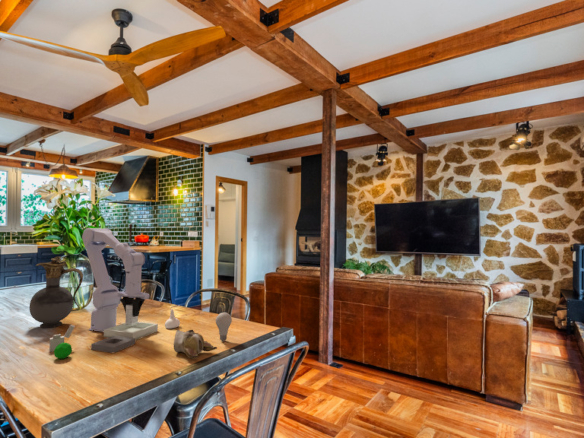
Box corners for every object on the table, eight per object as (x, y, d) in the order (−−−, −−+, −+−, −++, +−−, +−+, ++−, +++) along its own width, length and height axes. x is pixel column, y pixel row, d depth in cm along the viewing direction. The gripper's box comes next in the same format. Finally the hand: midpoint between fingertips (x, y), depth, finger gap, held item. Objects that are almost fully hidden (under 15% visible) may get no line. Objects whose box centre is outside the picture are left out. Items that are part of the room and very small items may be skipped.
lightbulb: (234, 339, 132) (234, 311, 132) (226, 344, 126) (226, 315, 126) (220, 337, 134) (221, 310, 134) (212, 342, 128) (212, 313, 128)
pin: (125, 325, 136) (126, 305, 136) (131, 323, 139) (131, 303, 139) (131, 325, 135) (132, 305, 135) (137, 323, 138) (138, 304, 138)
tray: (103, 337, 132) (104, 329, 132) (130, 327, 145) (130, 320, 146) (132, 341, 128) (132, 333, 128) (157, 331, 141) (157, 323, 141)
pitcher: (27, 326, 145) (30, 256, 147) (79, 319, 158) (81, 255, 159) (29, 332, 137) (32, 258, 138) (83, 324, 150) (86, 256, 151)
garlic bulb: (174, 330, 144) (175, 311, 144) (161, 328, 145) (162, 310, 145) (182, 326, 150) (182, 308, 150) (169, 325, 151) (170, 307, 151)
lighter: (49, 351, 116) (50, 328, 116) (49, 350, 117) (50, 327, 117) (74, 347, 120) (74, 325, 120) (73, 346, 122) (74, 324, 122)
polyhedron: (68, 354, 114) (69, 339, 114) (74, 357, 111) (74, 343, 111) (51, 358, 110) (52, 343, 110) (56, 362, 107) (56, 347, 107)
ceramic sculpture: (188, 321, 124) (219, 330, 117) (187, 345, 124) (218, 355, 117) (165, 329, 115) (197, 339, 108) (163, 354, 115) (195, 366, 108)
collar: (91, 349, 119) (91, 343, 119) (113, 340, 128) (114, 335, 128) (113, 353, 116) (113, 347, 116) (135, 343, 125) (135, 338, 125)
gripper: (111, 282, 136) (110, 316, 135) (140, 284, 132) (139, 319, 131) (124, 280, 143) (123, 312, 142) (153, 282, 138) (152, 315, 138)
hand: (132, 315), depth 137 cm, fingers closed on pin, 3 cm apart
